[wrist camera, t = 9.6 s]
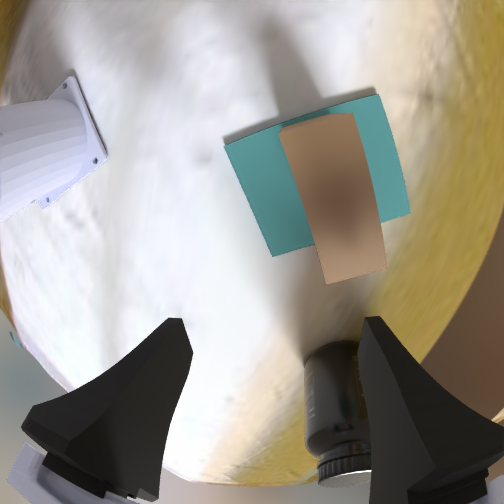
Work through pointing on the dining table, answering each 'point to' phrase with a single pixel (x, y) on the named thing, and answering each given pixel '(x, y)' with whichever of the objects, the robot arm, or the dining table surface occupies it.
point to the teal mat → (284, 186)
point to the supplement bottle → (337, 416)
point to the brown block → (336, 194)
